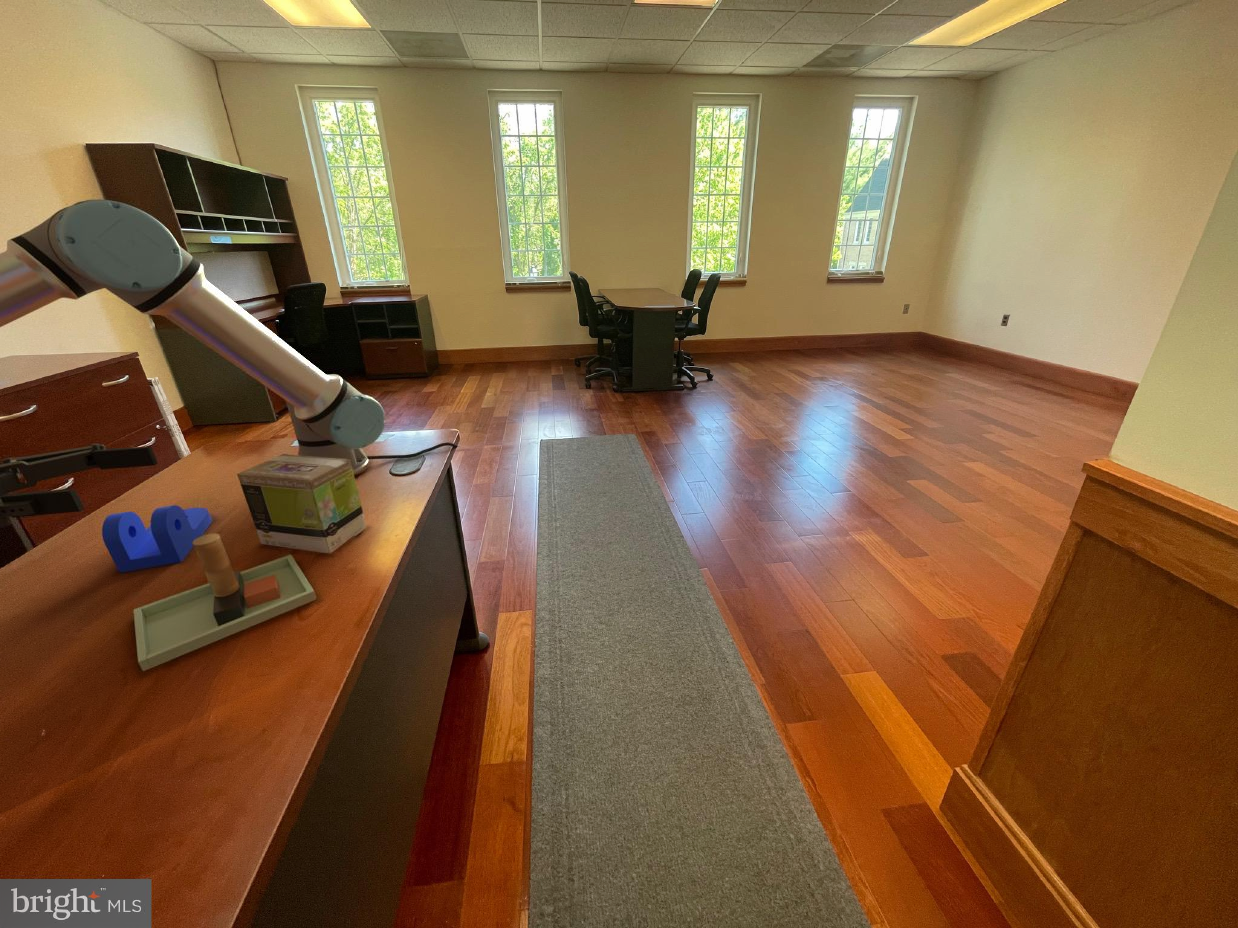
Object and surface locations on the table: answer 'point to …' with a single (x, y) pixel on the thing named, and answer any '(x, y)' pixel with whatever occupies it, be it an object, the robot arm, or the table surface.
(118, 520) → the bracket
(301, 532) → the tea box
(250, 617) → the tray
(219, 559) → the brush
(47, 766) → the table surface
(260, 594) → the orange flat block
